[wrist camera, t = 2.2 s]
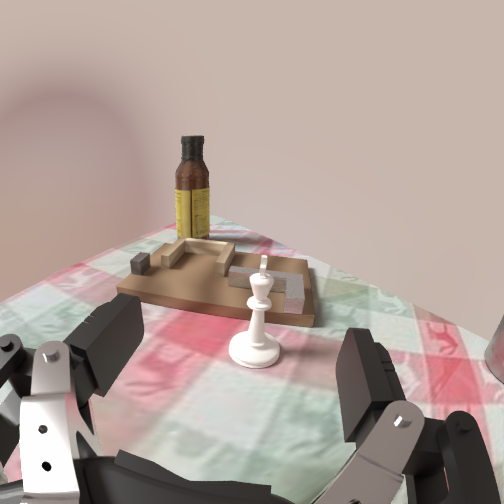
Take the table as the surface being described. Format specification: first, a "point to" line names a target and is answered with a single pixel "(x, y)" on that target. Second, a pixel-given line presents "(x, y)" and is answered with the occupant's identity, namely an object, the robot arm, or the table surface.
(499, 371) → the robot arm
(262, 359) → the chess piece
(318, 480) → the table surface
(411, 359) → the table surface
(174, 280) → the socket board
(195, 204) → the sauce bottle
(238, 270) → the keeper bolt
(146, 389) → the table surface
